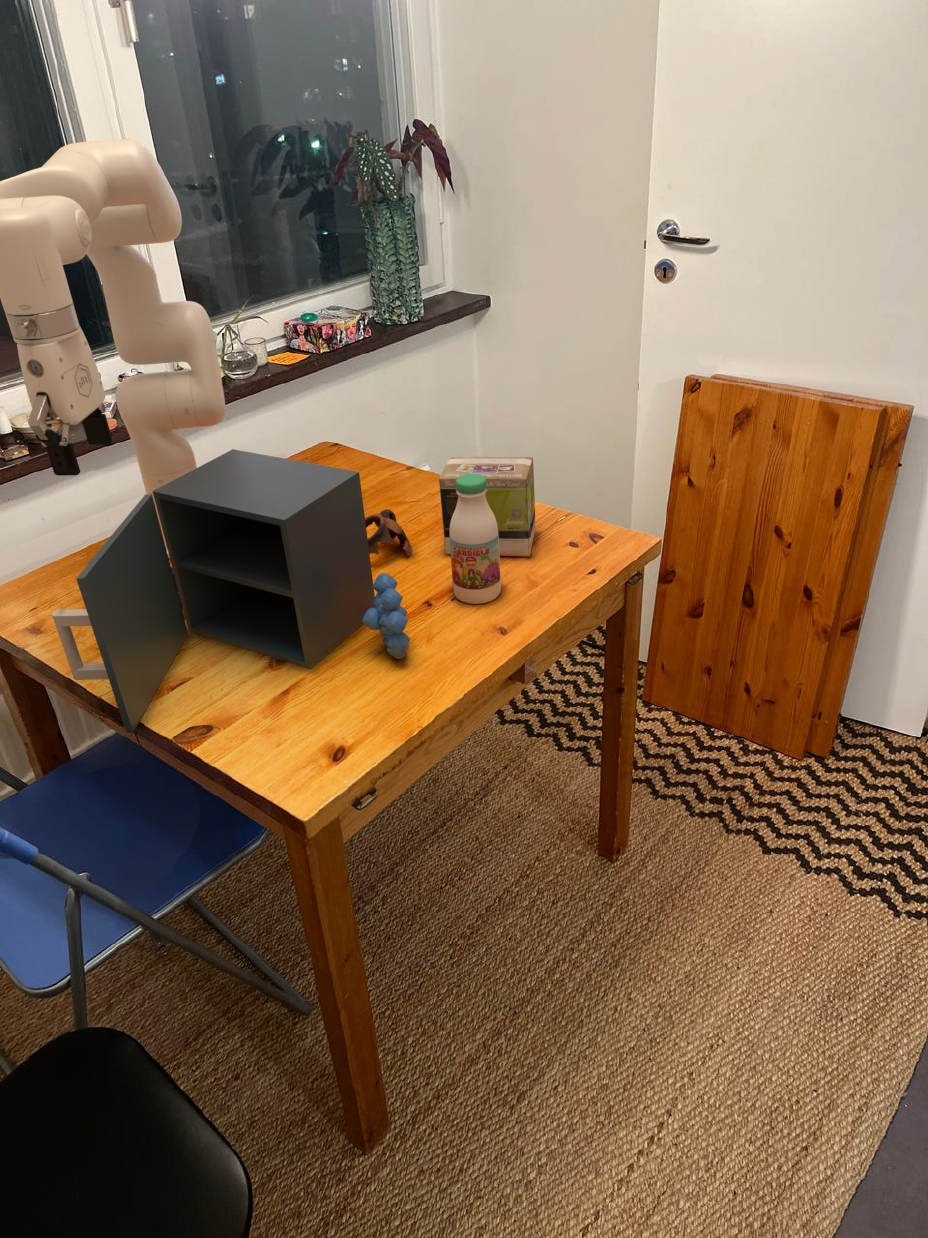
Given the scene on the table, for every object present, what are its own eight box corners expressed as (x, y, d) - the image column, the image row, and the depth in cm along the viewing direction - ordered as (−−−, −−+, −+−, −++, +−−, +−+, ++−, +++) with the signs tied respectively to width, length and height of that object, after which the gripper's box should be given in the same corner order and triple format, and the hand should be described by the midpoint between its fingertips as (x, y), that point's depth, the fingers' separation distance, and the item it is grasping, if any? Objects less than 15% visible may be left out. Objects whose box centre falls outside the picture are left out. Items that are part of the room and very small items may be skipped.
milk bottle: (451, 583, 151) (443, 470, 140) (498, 579, 151) (493, 466, 140) (455, 607, 144) (446, 491, 134) (503, 602, 145) (499, 486, 134)
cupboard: (311, 670, 132) (284, 519, 119) (188, 632, 142) (152, 491, 130) (377, 613, 144) (359, 471, 131) (259, 582, 155) (232, 448, 142)
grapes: (359, 634, 139) (349, 565, 133) (402, 626, 140) (394, 557, 134) (374, 676, 129) (364, 604, 123) (420, 666, 131) (413, 594, 124)
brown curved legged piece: (413, 567, 157) (385, 536, 152) (368, 585, 161) (340, 555, 156) (419, 521, 165) (393, 490, 160) (377, 539, 169) (350, 509, 164)
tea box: (536, 532, 165) (534, 455, 157) (529, 558, 156) (528, 478, 148) (454, 529, 167) (449, 453, 159) (443, 555, 159) (437, 477, 151)
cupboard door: (78, 733, 122) (22, 579, 109) (140, 635, 142) (100, 495, 130) (133, 733, 121) (83, 578, 109) (188, 634, 142) (152, 494, 129)
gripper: (39, 344, 100) (83, 487, 109) (104, 302, 114) (139, 432, 124) (-25, 346, 101) (24, 487, 110) (48, 304, 115) (86, 433, 124)
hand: (85, 458), depth 117 cm, fingers open, 9 cm apart
